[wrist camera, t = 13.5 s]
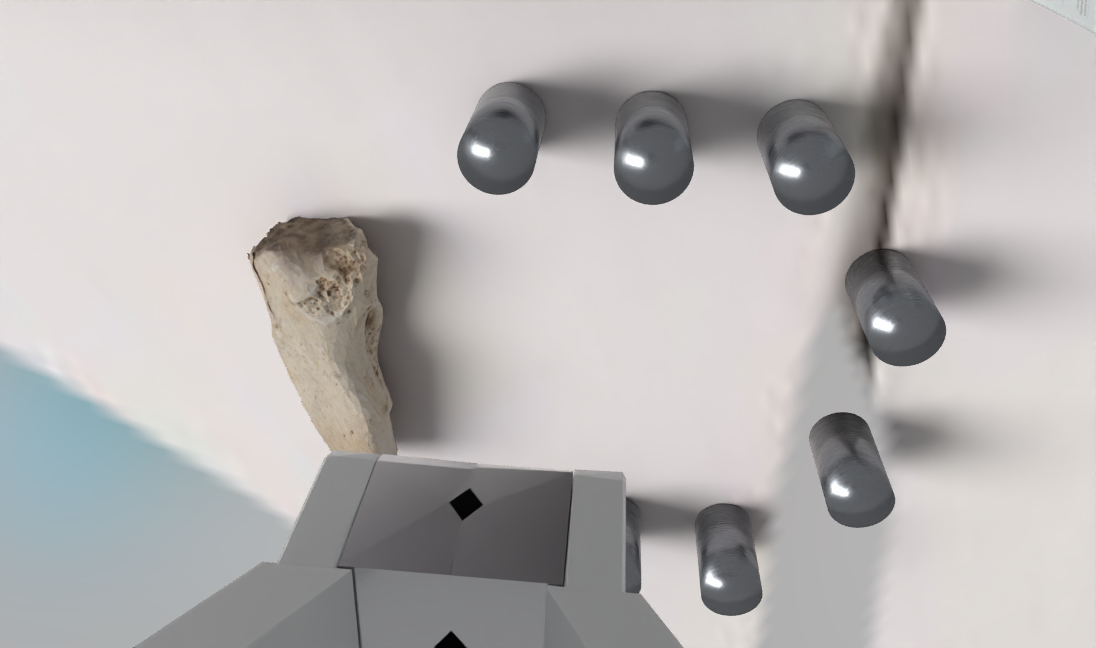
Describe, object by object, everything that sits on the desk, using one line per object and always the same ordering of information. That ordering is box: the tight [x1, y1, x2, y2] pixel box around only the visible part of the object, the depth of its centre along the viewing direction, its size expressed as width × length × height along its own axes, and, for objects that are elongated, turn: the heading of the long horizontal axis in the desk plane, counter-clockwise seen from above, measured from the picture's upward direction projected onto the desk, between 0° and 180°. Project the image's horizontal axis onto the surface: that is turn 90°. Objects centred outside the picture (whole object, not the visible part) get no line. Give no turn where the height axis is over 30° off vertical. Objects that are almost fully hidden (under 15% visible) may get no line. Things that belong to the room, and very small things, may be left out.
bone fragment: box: [247, 217, 398, 455], centre depth 44 cm, size 14×6×5 cm, turn 3°
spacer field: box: [457, 82, 946, 616], centre depth 43 cm, size 20×25×5 cm
